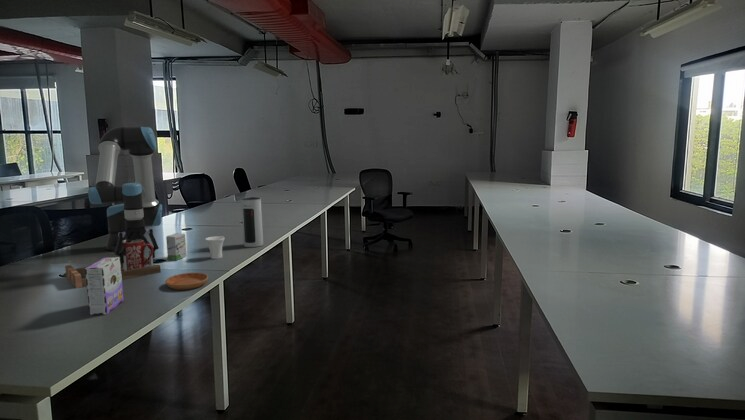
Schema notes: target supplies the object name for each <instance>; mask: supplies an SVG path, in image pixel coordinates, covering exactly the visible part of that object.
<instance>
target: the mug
mask: <svg viewBox="0 0 745 420" xmlns="http://www.w3.org/2000/svg"><path fill="white" fill-rule="evenodd" d="M125 242H126V240H123V241H122V245H123V247H125V246H126V252H125V254H124V255H125V256H126V265H127V270H132V269H137V268H143V267H145V266H146V265H147V264H148V262H149V259H150V258H151V256H152V254H153V247H154V246H153V244H152V243H150V244H145V243H144V240H142V239H136V240H132V241H131V242H130V243H125ZM148 246H150V248H151V250H150V251H151V254H150V256H149V255H148V257H147V260H146V261H144V257H145V248H146V247H148ZM146 263H147V264H146ZM145 264H146V265H145Z"/></svg>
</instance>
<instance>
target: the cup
mask: <svg viewBox="0 0 745 420" xmlns="http://www.w3.org/2000/svg"><path fill="white" fill-rule="evenodd" d="M204 240H205V241H206V244H207V246H208V248H209V253H210V255H209V256H210V259H211V260H219V259H222V258H223V246H224V241H225V236H223V235H222V236H221V235H218V236H217V235H215V236H208V237H206V238H205V239H204Z"/></svg>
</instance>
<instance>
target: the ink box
mask: <svg viewBox="0 0 745 420" xmlns="http://www.w3.org/2000/svg"><path fill="white" fill-rule="evenodd" d="M165 240H166V250H167V260H168V261H174V262H175V261H176V262H178V261H180V260H182V259H184V258H186V257H187V256H188V255H187V243H186V240H187V239H186V234H185V233H179V232H177V233H173V234H172V233H171V234H170V235H167V236H166V238H165Z"/></svg>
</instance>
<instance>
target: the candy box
mask: <svg viewBox="0 0 745 420" xmlns="http://www.w3.org/2000/svg"><path fill="white" fill-rule="evenodd" d="M86 267H87V268H85V273H86V275H85V278H86V283H87V286H86V293H87V301H88V311H89V316H95V315H96V316H97V315H98V316H104V315H108V314H110V312H112V311H113V310H114V309H115V308H116V307H118V306H119V305H120V304H121V303H122V302H123V301H125V297H124V288H123V279H122V274H121V271H122V269H121V264H120V256H117V257H116V256H115V257H103V258H101V259H99V260H98V261H96V262H94V263H92V264H91V265H89V266H86Z"/></svg>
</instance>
